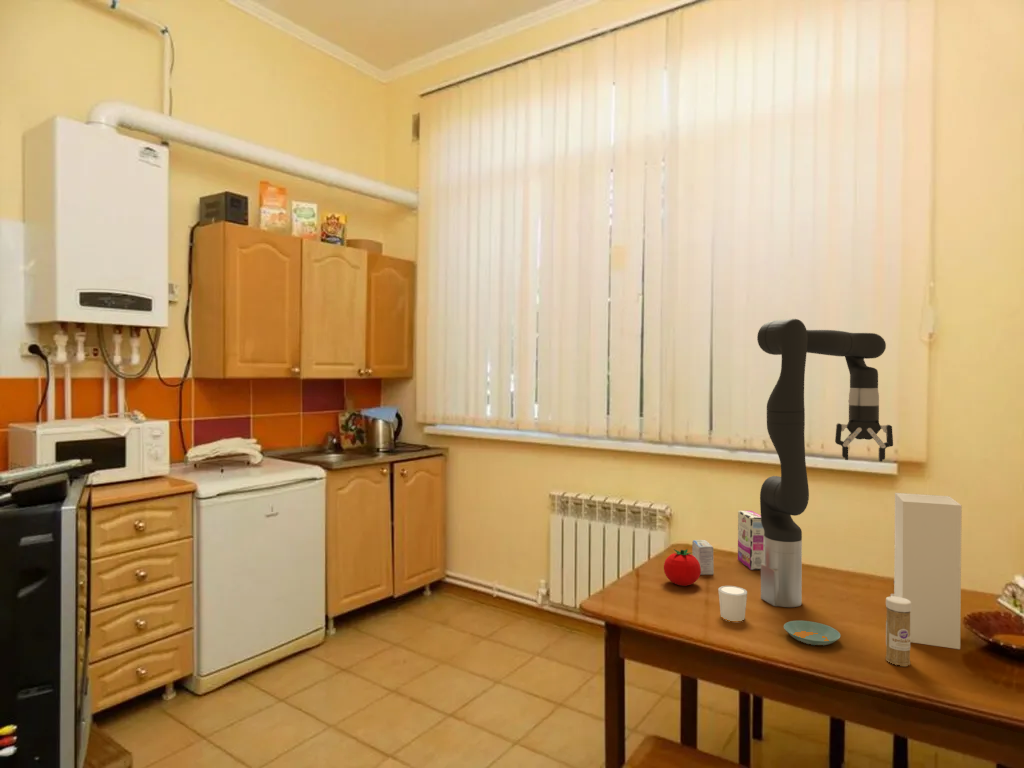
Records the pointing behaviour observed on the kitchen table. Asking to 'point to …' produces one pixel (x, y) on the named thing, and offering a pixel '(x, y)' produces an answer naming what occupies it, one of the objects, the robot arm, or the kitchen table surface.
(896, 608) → the sprinkles bottle
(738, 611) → the white cup
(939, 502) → the stand
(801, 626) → the saucer
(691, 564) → the tomato
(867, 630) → the kitchen table surface
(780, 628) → the kitchen table surface
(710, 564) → the medicine box
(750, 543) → the candy bar box
